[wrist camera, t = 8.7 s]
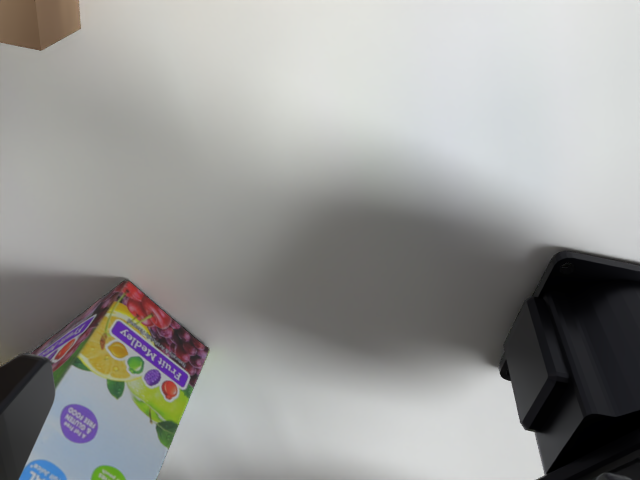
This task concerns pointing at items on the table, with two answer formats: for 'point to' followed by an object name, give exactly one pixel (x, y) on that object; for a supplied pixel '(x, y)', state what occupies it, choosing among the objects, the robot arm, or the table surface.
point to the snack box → (115, 391)
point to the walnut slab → (37, 22)
